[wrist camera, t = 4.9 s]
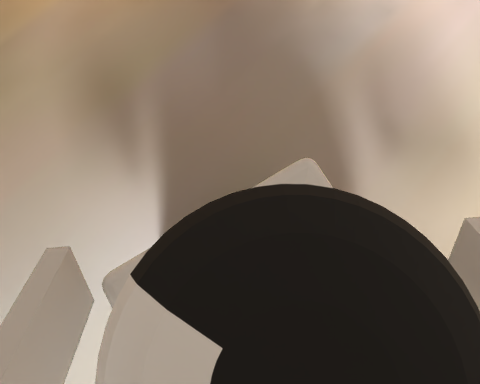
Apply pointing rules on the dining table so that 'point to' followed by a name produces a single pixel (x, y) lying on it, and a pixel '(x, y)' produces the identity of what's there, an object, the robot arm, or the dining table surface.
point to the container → (290, 296)
